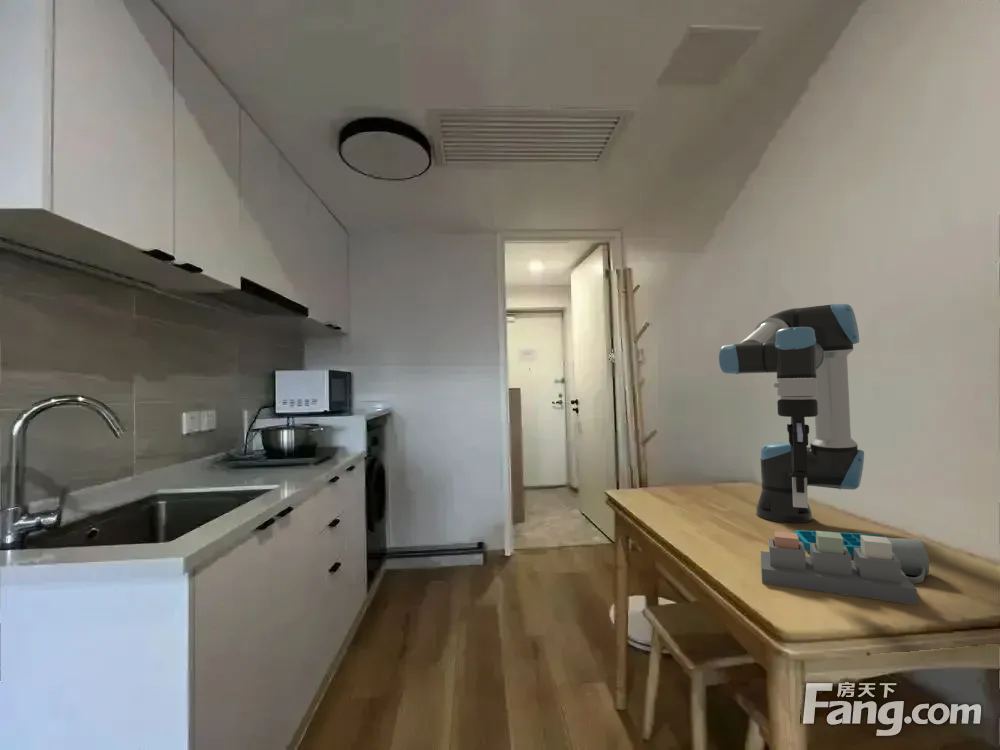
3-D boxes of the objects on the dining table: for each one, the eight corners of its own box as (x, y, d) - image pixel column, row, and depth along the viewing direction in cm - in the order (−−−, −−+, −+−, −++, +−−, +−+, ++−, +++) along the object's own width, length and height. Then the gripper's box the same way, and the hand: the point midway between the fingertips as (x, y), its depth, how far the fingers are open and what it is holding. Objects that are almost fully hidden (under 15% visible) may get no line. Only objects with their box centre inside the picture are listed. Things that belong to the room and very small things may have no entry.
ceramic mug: (874, 564, 114) (873, 531, 114) (919, 569, 111) (918, 535, 111) (887, 582, 105) (885, 546, 105) (936, 588, 101) (935, 550, 101)
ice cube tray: (793, 540, 133) (792, 529, 133) (881, 546, 127) (881, 534, 127) (806, 555, 122) (806, 543, 122) (904, 562, 116) (903, 549, 116)
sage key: (816, 551, 108) (815, 530, 108) (840, 553, 106) (839, 532, 106) (818, 557, 104) (818, 536, 104) (844, 560, 102) (843, 538, 102)
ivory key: (861, 556, 104) (860, 534, 104) (887, 559, 102) (886, 537, 102) (865, 563, 100) (864, 541, 100) (892, 566, 98) (891, 543, 98)
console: (761, 563, 116) (760, 534, 116) (900, 581, 104) (898, 548, 104) (762, 582, 105) (761, 549, 105) (917, 605, 93) (915, 568, 94)
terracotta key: (774, 551, 111) (774, 531, 111) (797, 553, 109) (796, 533, 109) (775, 557, 107) (774, 536, 108) (799, 560, 105) (798, 539, 106)
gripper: (776, 397, 115) (779, 498, 115) (778, 399, 104) (781, 511, 103) (814, 397, 112) (817, 501, 111) (820, 399, 100) (824, 515, 100)
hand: (800, 506), depth 107 cm, fingers closed
